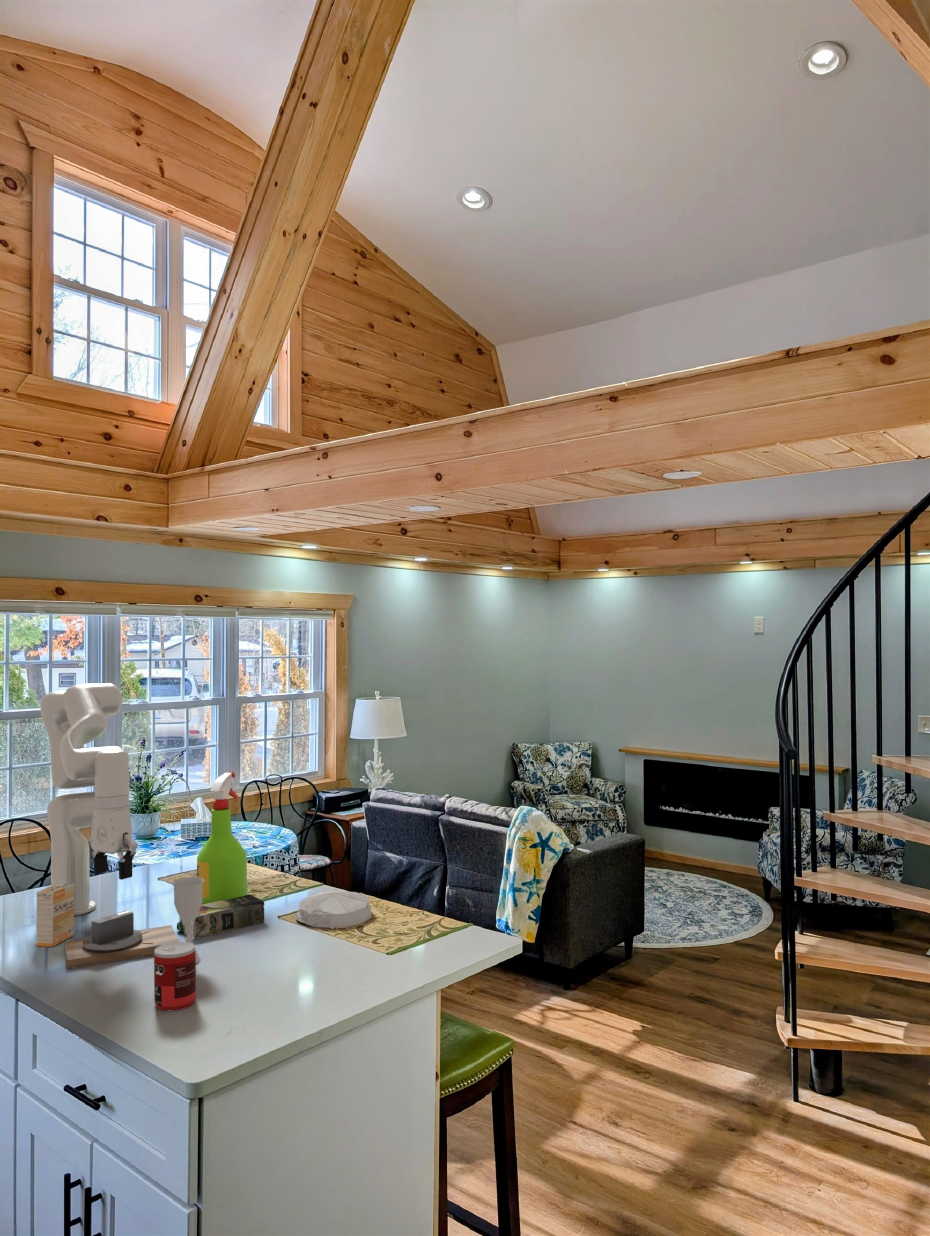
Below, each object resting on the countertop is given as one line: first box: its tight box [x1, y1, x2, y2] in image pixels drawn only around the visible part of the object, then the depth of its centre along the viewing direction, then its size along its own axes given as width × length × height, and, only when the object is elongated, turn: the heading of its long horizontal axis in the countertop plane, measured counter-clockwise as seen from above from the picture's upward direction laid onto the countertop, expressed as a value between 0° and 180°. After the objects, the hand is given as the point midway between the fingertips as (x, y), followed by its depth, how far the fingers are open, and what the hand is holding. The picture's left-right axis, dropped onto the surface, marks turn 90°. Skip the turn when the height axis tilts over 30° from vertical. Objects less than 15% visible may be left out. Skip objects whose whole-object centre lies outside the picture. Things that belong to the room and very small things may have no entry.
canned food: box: [153, 941, 197, 1011], centre depth 174 cm, size 8×8×11 cm
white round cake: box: [295, 890, 373, 929], centre depth 228 cm, size 20×20×7 cm
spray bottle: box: [196, 770, 248, 905], centre depth 247 cm, size 14×18×35 cm
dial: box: [83, 910, 142, 952], centre depth 204 cm, size 13×13×6 cm
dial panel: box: [65, 924, 180, 970], centre depth 205 cm, size 14×24×2 cm, turn 116°
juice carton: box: [176, 893, 265, 940], centre depth 221 cm, size 20×10×6 cm, turn 129°
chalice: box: [171, 876, 204, 964], centre depth 197 cm, size 7×7×18 cm
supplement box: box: [35, 883, 75, 948], centre depth 212 cm, size 8×5×13 cm, turn 168°
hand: (113, 875), depth 204 cm, fingers open, 9 cm apart
